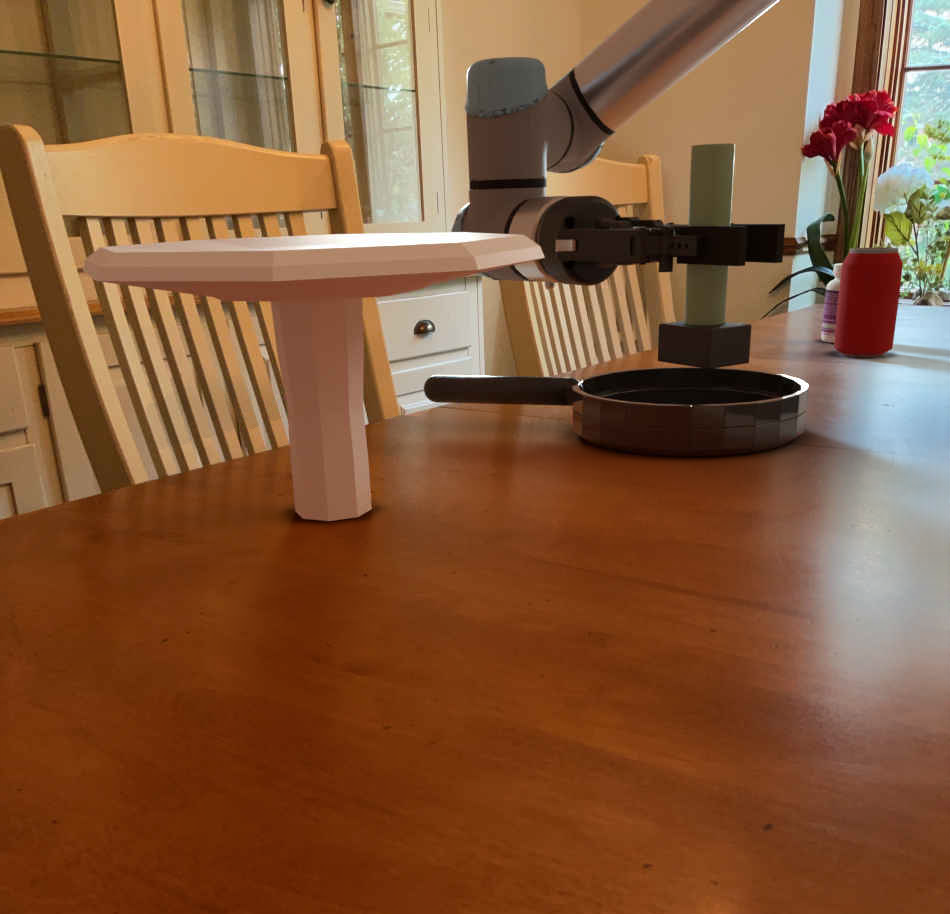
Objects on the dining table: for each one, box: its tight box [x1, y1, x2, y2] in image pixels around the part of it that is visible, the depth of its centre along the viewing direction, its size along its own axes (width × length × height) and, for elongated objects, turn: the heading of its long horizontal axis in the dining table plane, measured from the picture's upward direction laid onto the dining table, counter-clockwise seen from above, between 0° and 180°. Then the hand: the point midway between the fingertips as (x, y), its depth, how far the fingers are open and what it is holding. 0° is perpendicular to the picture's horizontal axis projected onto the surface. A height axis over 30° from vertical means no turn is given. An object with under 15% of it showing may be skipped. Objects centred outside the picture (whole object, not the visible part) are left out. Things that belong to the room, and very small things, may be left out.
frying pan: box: [570, 366, 809, 457], centre depth 87 cm, size 19×19×4 cm
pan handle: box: [423, 374, 583, 407], centre depth 91 cm, size 14×2×2 cm, turn 73°
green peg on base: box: [657, 142, 752, 369], centre depth 81 cm, size 6×4×16 cm
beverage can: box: [833, 246, 904, 358], centre depth 124 cm, size 7×7×12 cm
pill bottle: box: [820, 262, 843, 344], centre depth 135 cm, size 5×5×10 cm
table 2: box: [82, 231, 545, 522], centre depth 66 cm, size 28×28×17 cm
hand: (761, 244), depth 77 cm, fingers closed on green peg on base, 3 cm apart
